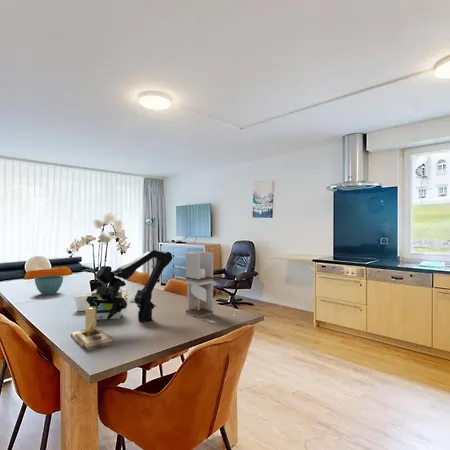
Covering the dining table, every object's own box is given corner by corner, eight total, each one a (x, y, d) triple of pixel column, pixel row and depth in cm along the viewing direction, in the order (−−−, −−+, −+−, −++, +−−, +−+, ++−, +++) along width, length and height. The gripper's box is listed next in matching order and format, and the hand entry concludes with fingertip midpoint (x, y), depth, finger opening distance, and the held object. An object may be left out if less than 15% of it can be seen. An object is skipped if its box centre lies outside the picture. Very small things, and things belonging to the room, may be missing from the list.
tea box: (90, 321, 158) (90, 292, 158) (93, 315, 167) (93, 289, 167) (120, 318, 162) (120, 291, 162) (121, 313, 171) (122, 287, 171)
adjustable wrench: (157, 306, 188) (157, 304, 188) (148, 309, 184) (148, 306, 184) (135, 300, 205) (135, 297, 205) (127, 301, 200) (127, 299, 200)
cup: (84, 313, 172) (85, 296, 172) (69, 312, 174) (69, 296, 174) (95, 308, 182) (95, 293, 182) (81, 307, 184) (81, 292, 184)
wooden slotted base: (93, 331, 142) (93, 323, 142) (112, 344, 126) (112, 335, 126) (70, 336, 135) (70, 328, 135) (87, 350, 119) (87, 341, 119)
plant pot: (28, 295, 216) (28, 278, 216) (49, 290, 233) (50, 275, 233) (48, 297, 210) (48, 280, 211) (68, 292, 228) (68, 276, 228)
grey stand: (185, 313, 171) (186, 252, 172) (200, 310, 179) (200, 251, 179) (198, 318, 163) (198, 253, 164) (212, 314, 171) (213, 252, 171)
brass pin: (96, 337, 133) (96, 306, 133) (96, 341, 129) (96, 308, 129) (85, 339, 132) (85, 307, 132) (85, 342, 127) (85, 309, 128)
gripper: (88, 278, 143) (71, 308, 132) (123, 280, 139) (109, 310, 128) (98, 291, 150) (84, 320, 140) (132, 293, 146) (120, 323, 136)
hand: (98, 318), depth 135 cm, fingers open, 9 cm apart
